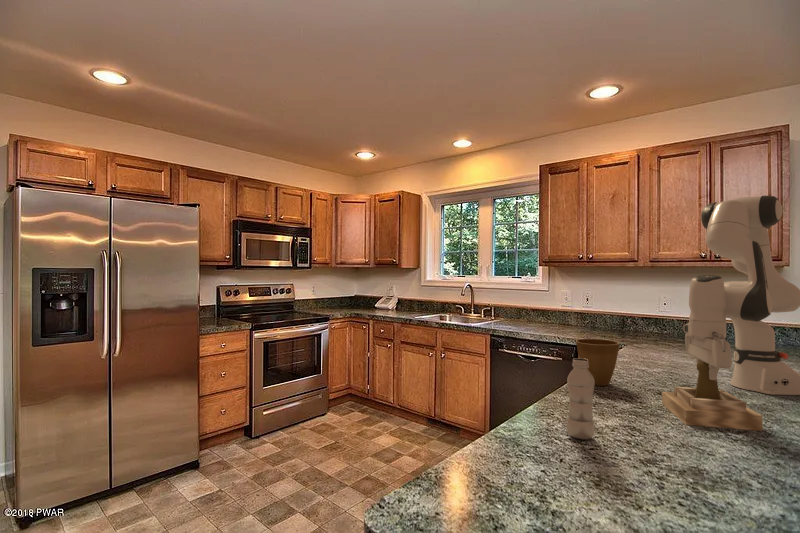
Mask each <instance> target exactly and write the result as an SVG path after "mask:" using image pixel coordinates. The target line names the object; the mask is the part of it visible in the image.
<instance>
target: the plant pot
mask: <svg viewBox="0 0 800 533" xmlns="http://www.w3.org/2000/svg"><path fill="white" fill-rule="evenodd" d="M575 343H576V348H577V349H576V350H577V353H578V354H577V355H578V358H580V359H587V360H588V365H589V368H588V371H589V372H590V373H591V375H592V376H593V378H594V381H595V385H594V386H601V387H605V386H609V385H610V382H611V380H612V377H613V374H614V371H615V367H616V364H617V360H618V357H619V348H620V342H618V341H615V340H610V339H609V340H608V339H600V338H580V339H575Z"/></svg>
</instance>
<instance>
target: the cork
mask: <svg viewBox="0 0 800 533" xmlns="http://www.w3.org/2000/svg"><path fill="white" fill-rule="evenodd" d="M709 369H710V368H709V364H707V363H705V362H703V361H699V362H698V363H697V362H696V370H697V371H698V374H697V382H696V387H695V388H696V393H695V398H702V399H716V400H720V395H719V390H720V389H719V385H718V384H719V383H718V379H717V380H710V379H709V378H708V377H707V376H708V375H707V373H709Z"/></svg>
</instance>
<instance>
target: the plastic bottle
mask: <svg viewBox="0 0 800 533" xmlns="http://www.w3.org/2000/svg"><path fill="white" fill-rule="evenodd" d="M572 367H573V369H571V371H570V372H569V374H568V375H567V380H566V381H567V389H568V397H569V398H568V399H569V406H568V408H569V409H568V417H567V420H566V421H567V422H566V430H567V433H568V435H569V436H570V437H572V438H575V439H578V440H590V439H592V438H593V437H594V435H595V432H596V431H595V430H596V428H595V422H594V416H593V415H594V413H593V398H594V390H595V386H596V385H595V381H594V378H593V376H592V375H591V373H590V372H589V371H588V368H589V365H588V360H587V359H580V358H579V357H578V358H573V359H572Z"/></svg>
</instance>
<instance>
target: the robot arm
mask: <svg viewBox="0 0 800 533" xmlns="http://www.w3.org/2000/svg"><path fill="white" fill-rule="evenodd" d="M783 210H784V209H783V205H782V204H781V202H780V199H779V198H778V197H776V196H775V195H761V196H748V197H738V198H735V199H733V198H732V199H728V200H724V201H718V202H716V201H715V202H711V203H708V204H706V205H705V206H704V207H703V208H702V210H701V214H700V221H701V224H702V226H703V228H704V229H706V233H705V243H706V247H707V248H708V249H709V251H711V252H712V253H713V254H715V255H717V256H719V257H722V258H725V259H729V260H731V266H733V268H734V269H735V270H737V271H738V272H740V273H743V274H745V275H747V276H748V277H747V278H748V280H747V281H744V280H739V281H738V280H732V281H724V278H723V277H722V276H720V275H717V274H716V275H715V274H703V275H696V276H694V277H692V278H691V280H690V285H689V293H688V306H689V309H690V314H689V317H688V323H686V324H684V325H683V332H684V333H685V336H684V337H685V338H684V339H685V340H684V342H685V350H686V354H687V355H688V356H690V357H693V358H695V360H696V364H697V363H698V362H699V361H703V362H705V363H707V364H709V368H710V369H709V373H707V375H708V376H707V377H708V378H709V379H710V380H717V381H718V373H719V371H720V369H727V370H728V369H731V367H732V365H733V361H734V366H733V367H734V368H733V373H732V376H731V380H730V382H729V384H730V385H731V386H733V387H736V388H738V389H739V388H740V389H743V390H746V391H753V392H758V393H762V394H766V395H773V396H774V395H778V396H779V395H780V396H782V395H784V396H785V395H786V396H800V373H799V372H797V371H796V370H795V369H793V368H792V367H790V366H788V365H787V364H786V363H785V362H783V361H782V359H783V360H787V359H789V354H787V353H785V352H779V351H777V350H776V332H775V330H774V328H773V327H772V326H771V325H770V324H768V323H766V322H765V321H762V320H765V319H766V318H768V317H769V316H771V313H775V314H778V313H791V312H795V311H797V310H798V309H799V308H800V288H799V287H798V286H796V284H794V283H791V282H790V281H788V280H787V279H786V278H784V277H783V276H782V275H781V274H780V273H779V272H778V270H777V269H776V268H775V265H774V263H773V257H772V253H771V243H770V236H769V235H770V234H769V231H768V230H769V229H771V227H773V226H775V225H776V224H778V223H779V222H780V221H781V218H782V215H783ZM727 319H730V320H731V323H732V324H733V329H734V336H735V337H734V339H735V340H734V341H735V342H734V343H735V346H734V347H733V361H732V350H731V345H730V342H729V341H728V340H727V339H726V338H727Z"/></svg>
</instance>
